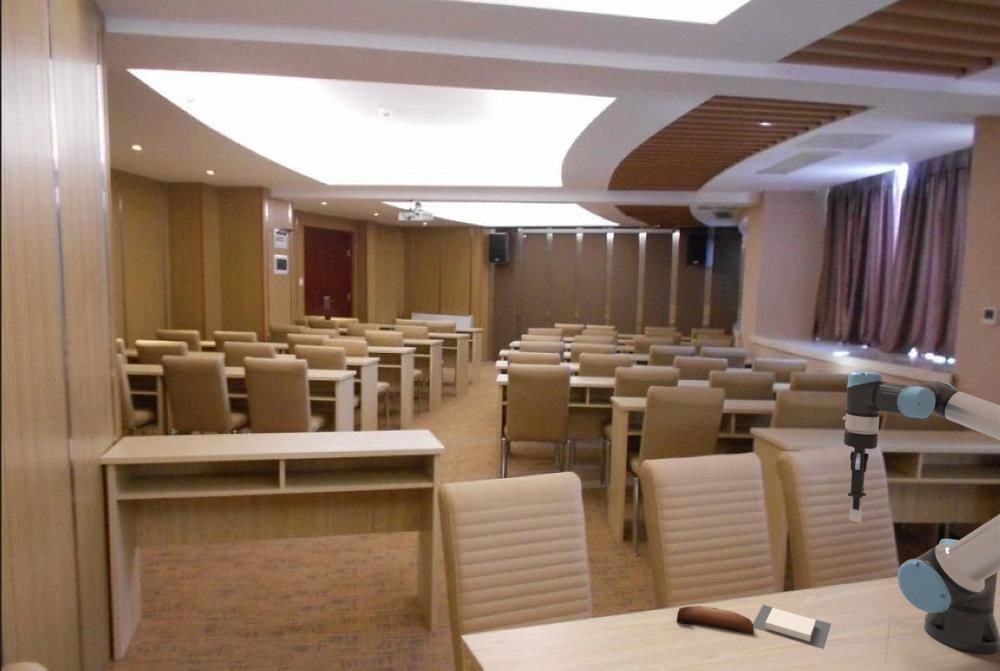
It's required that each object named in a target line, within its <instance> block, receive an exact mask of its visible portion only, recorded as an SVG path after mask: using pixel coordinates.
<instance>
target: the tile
mask: <svg viewBox="0 0 1000 671" xmlns="http://www.w3.org/2000/svg"><path fill="white" fill-rule="evenodd" d="M779 609H780V608H777V609H776V607H773V608H772V610H771V612H770V614H769V616H768V618H767V620H766V622H765V629H769V630H772V631H775V632H779V633H782V634H785V635H789V636H792V637H795V638H799V639H802V640H805V641H809V642H810V640H811V638H812V635H813V632H814V629H815V625H816V620H817V619H816V620H815V618H813V617H809V618H808V616H805V617H804V615H802V616H801V614H798V613H794V612H791V613H790V611H786V610H784V611H783V609H780V610H779ZM797 614H798V615H797Z"/></svg>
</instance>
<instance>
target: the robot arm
mask: <svg viewBox="0 0 1000 671" xmlns="http://www.w3.org/2000/svg"><path fill="white" fill-rule="evenodd" d="M847 379H848V380H847V386H846V407H845V408H846V409H845V416H843V417H842V420H844V421H845V422H844V428H845V430H844V432H843V434H844V435H843V444H844V445H845V446H848V447H852V448H854V450H853V451H851V452H850V457H849V459H850V471H851V479H850V480H851V481H850V482H851V483H850V492H848V493H847V497H850V498H849V499H850V502H849V517H848V518H849V519H848V520H849V521H851V522H855V523H862V518H863V517H862V516H863V515H862V514H863V500H864V497H866V496H867V493H866V492H864V491H865V488H864V486H865V475H866V474H865V472H866V471H867V469H868V460H869V458H870V457H869V455H870V454H869V453H868V452H867V453H866V450H875V449H876V448H877V447H878V440H879V439H878V437H879V436H878V434H877V433H878V432H879V428H880V427H879V425H880V412H881V413H882V412H883V413H888V414H893V415H898V416H903V417H908V418H912V419H913V418H917V419H926V418H928V417H929V416H930V415H932V414H933V415H935V416H937V417H941V418H943V419H946V420H948V421H951V422H953V423H956V424H959V425H961V426H963V427H966V428H968V429H971V430H973V431H977V432H978V433H981V434H983V435H986V436H989V437H991V438H994V439H996V440H998V441H1000V404H996V403H994V402H991V401H988V400H986V399H983V398H980V397H977V396H975V395H971V394H968V393H966V392H963V391H960V390H958V389H957V388H955V386H953V385H952V384H950V383H948V382H942V381H930V382H924V383H922V382H921V383H907V384H904V383H894V382H885V381H883V378H882V374H881V373H880V372H875V371H867V370H866V371H865V370H853V371H851V372H849V374H848V378H847ZM999 572H1000V513H999V514H998V515H996V516H995V517H993V518H992V519H990V520H988V521H987V522H986V523H984V524H982V525H980V526H979V527H977V528H976V529H975V530H973V531H972V532H970V533H968V534H967V535H965V536H964V537H962V538H960V539H959V540H958V539H953V538H942V539H941V540H940V541H939V543H938V544H937V545H936V546H934V547H932V548H930V549H929V550H928V551H926V552H924V553H922V554H921V555H920V556H918V557H916V558H911V559H907V560H906V561H905V562H903V563H902V564H901V565H900V566H899V568H898V571H897V583H898V584H897V585H898V587H899V589H900V591H901V593H902V595H903V596H904V598H905V599H906V600H907V601H908V602H909V604H911V605H912V606H914V607H915V608H917V609H918V610H921V611H923V612H925V613H926V615H925V617H924V621H923V623H924V624H923V625H924V626H923V628H924V630H925V632H926V633H928V635H929V636H931V637H932V638H933V639H935V640H936V641H939V642H941V643H943V644H944V645H947V646H949V647H952V648H955V649H958V650H961V651H966V652H970V653H975V654H985V655H986V654H994V653H996V652H999V650H1000V632H999V628H998V626H997V621H996V619H995V615H994V610H995V603H996V602H995V600H996V590H997V580H998V578H997V577H998V573H999Z"/></svg>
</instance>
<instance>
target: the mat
mask: <svg viewBox="0 0 1000 671" xmlns="http://www.w3.org/2000/svg"><path fill="white" fill-rule="evenodd" d="M772 608H774V607H773V606H769V605H765V604H762V606H761V608H760V610H759V612H758V614H757V615H756V617H755V619H754V621H753V622H752V624H753V627H754V629H756V630H759V631H764V632H765V633H766V632H767V633H770V634H773V635H776V636H779V637H783V638H786V639H790V640H793V641H797V642H799V643H802V644H806V645H809V646H812V647H816V648H820V649H822V650H824V649H825V645H826V641H827V639H828V635H829V631H830V630H831V629H830V628H831V624H832V623H830V622H826V621H823V620H820V619H815V618H814V619H815V620H816V625H815V629H814V632H813V635H812V638H811V640H810V642H809V641H805V640H802V639H799V638H795V637H792V636H789V635H785V634H782V633H779V632H775V631H772V630H769V629H765V622H766V620H767V618H768V616H769V614H770V612H771V610H772ZM775 608H776V607H775ZM776 609H779V610H781V609H780V608H776ZM782 610H783V609H782ZM783 611H785V610H783ZM789 612H790V611H789ZM790 613H792V612H790ZM796 614H797V615H799V614H798V613H796ZM800 615H801V614H800ZM801 616H804V615H801ZM804 617H806V616H804ZM807 617H808V616H807ZM808 618H810V617H808Z"/></svg>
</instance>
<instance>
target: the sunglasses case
mask: <svg viewBox="0 0 1000 671" xmlns="http://www.w3.org/2000/svg"><path fill="white" fill-rule="evenodd" d="M676 622H677V623H684V624H692V625H702V626H704V625H705V626H708V627H713V628H718V629H719V628H720V629H726V630H729V631H736V632H740V633H745V634H750V635H754V629H755V628H754V627H753V621H752V620H751V619H750V618H748V617H746V616H744V615H742V614H740V613H738V612H734V611H732V610H728V609H722V608H717V607H710V606H705V605H692V606H691V605H690V606H682V607H679V609H678V611H677V616H676Z"/></svg>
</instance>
